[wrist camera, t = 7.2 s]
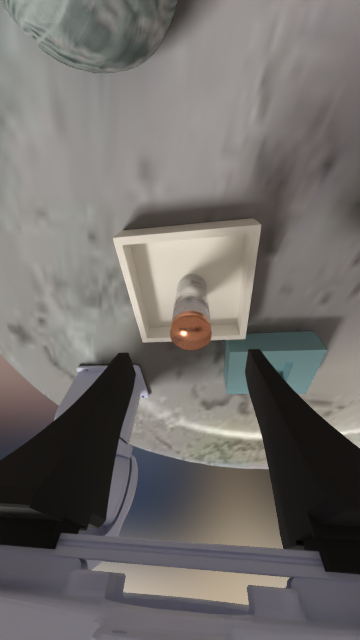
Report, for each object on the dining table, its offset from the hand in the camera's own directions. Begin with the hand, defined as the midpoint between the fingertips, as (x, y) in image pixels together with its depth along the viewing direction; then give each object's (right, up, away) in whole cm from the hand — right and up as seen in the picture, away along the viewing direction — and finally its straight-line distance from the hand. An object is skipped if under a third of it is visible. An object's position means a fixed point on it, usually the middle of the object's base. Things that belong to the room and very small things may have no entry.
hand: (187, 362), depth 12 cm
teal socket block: (+11, -2, +14) cm, 17 cm away
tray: (+1, +6, +8) cm, 10 cm away
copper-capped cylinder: (+1, +6, +8) cm, 10 cm away
